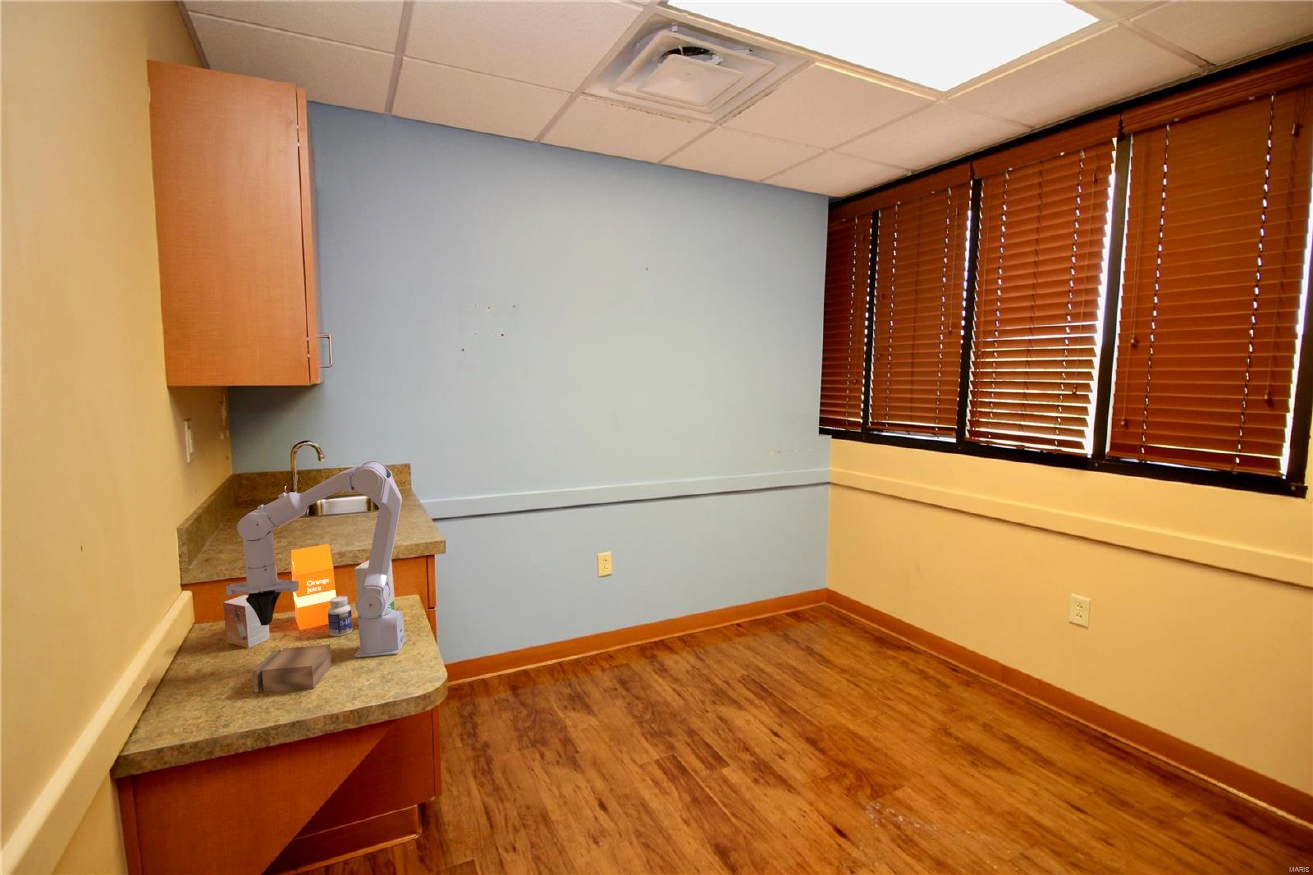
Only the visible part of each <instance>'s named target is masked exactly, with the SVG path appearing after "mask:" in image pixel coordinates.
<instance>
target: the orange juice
mask: <svg viewBox="0 0 1313 875" xmlns="http://www.w3.org/2000/svg"><path fill="white" fill-rule="evenodd" d="M330 548H331V547H330V544H321V545H315V546H310V547H309V546H308V547H304V548H299V549H292V550H291V567H290V568H291V578H292V580H291V581H299V590H297V591H296V592H292V593H293V601H294V611H295V612H294V613H295V622H296V623H297V626H298V629H299V630H300V631H301V630H306V629H311V628H315V627H319V626H323V625H327V624H328V609H329V608H330V607H331V606H330V599H331V598H333V597H336V596H337V594H336V584H335V572H334V565H333V560H332V555H331V549H330Z"/></svg>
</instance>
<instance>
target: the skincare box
mask: <svg viewBox="0 0 1313 875" xmlns="http://www.w3.org/2000/svg"><path fill="white" fill-rule="evenodd" d="M368 565H369V559H368V560H367V561H365V562H362V563H361V564H359V565H358V566H356V567H354V574H355V585H356V597H357V598H358V597H359V596H360V594H361V592H362V589H363V586H364V582H365V579H366V575H367V570H368ZM388 583H389V586H390V590H391V592H390V596H389V598H388V600H387V602H388V603H389V605H390V606H391V609H392V610H396V602H395V601H396V599H395V588H394V575H393V563H392V561H391V564H390V569H389V580H388ZM357 598H356V599H357Z"/></svg>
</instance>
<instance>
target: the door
mask: <svg viewBox="0 0 1313 875" xmlns="http://www.w3.org/2000/svg"><path fill="white" fill-rule="evenodd" d="M281 650H282V649H275V650H273V652H272V653H270V654H269V655H268V656H267V657H265V659H263V661H261V662H260V663H259V664H258V665H257V666H255V667H254V668H253V669H252V670H251V672H252V681H253V682H252V683H253V692H254V693H255V692H256V693H257V692H260V690H262V689H264V688H263V678H262V669H263V668H264V667H265V666H266V665H267V664H268V663H269V662H270V661H271V660H272V659H273V658H274V657H275V656H276V655H277V654H278V653H279V652H280V651H281Z"/></svg>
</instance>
